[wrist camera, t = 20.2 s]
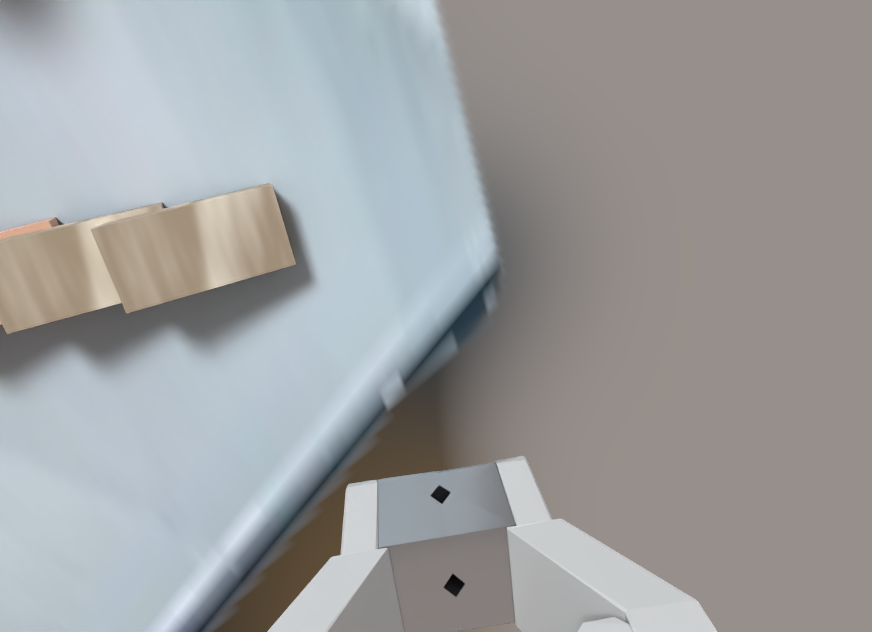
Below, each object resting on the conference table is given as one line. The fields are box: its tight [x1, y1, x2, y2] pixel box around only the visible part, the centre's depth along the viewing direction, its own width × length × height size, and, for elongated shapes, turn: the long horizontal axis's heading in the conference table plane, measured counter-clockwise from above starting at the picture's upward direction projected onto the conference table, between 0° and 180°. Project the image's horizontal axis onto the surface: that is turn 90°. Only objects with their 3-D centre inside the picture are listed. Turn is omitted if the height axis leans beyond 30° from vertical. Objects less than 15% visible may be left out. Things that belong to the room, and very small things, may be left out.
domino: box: [0, 203, 164, 334], centre depth 34 cm, size 2×5×10 cm
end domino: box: [90, 183, 296, 314], centre depth 34 cm, size 2×5×10 cm
